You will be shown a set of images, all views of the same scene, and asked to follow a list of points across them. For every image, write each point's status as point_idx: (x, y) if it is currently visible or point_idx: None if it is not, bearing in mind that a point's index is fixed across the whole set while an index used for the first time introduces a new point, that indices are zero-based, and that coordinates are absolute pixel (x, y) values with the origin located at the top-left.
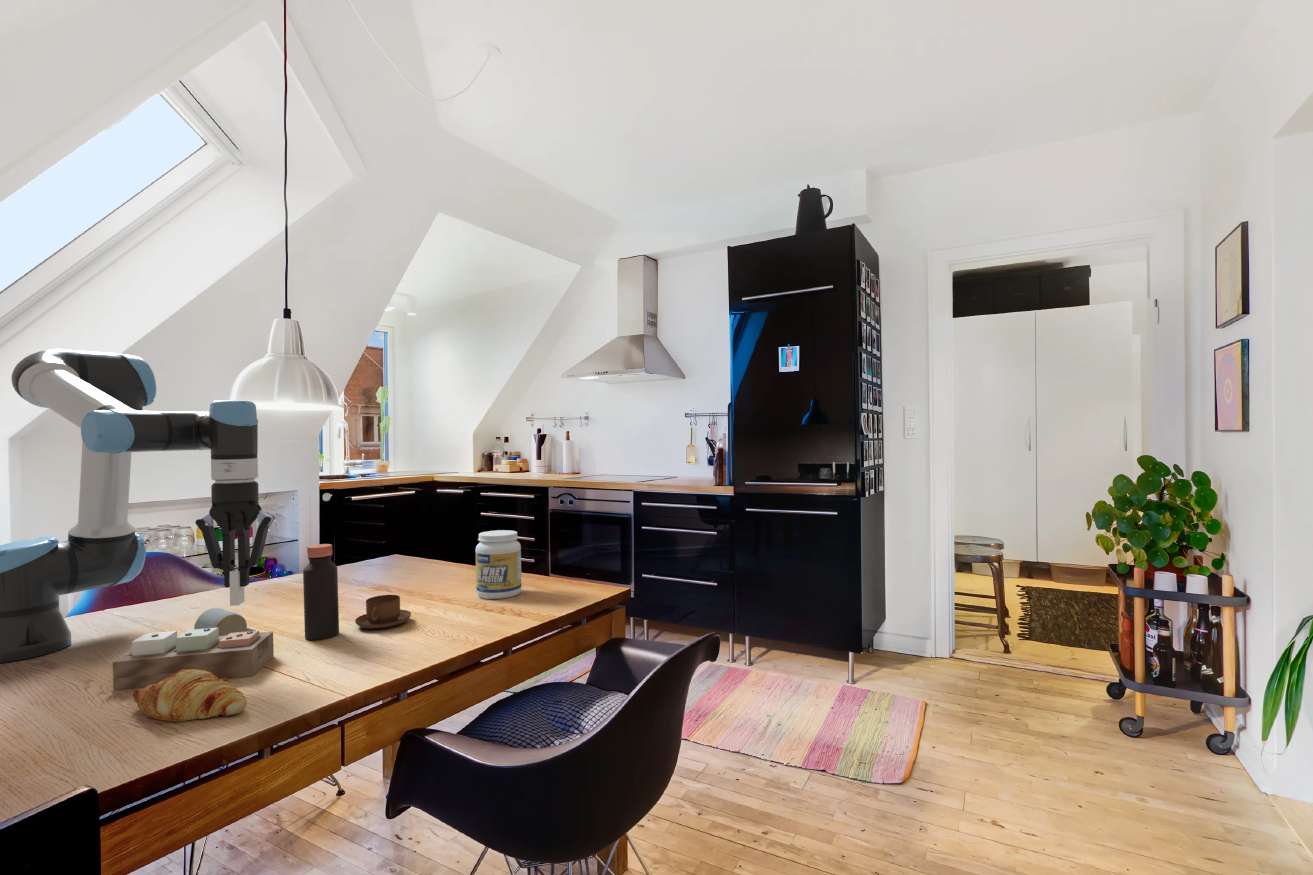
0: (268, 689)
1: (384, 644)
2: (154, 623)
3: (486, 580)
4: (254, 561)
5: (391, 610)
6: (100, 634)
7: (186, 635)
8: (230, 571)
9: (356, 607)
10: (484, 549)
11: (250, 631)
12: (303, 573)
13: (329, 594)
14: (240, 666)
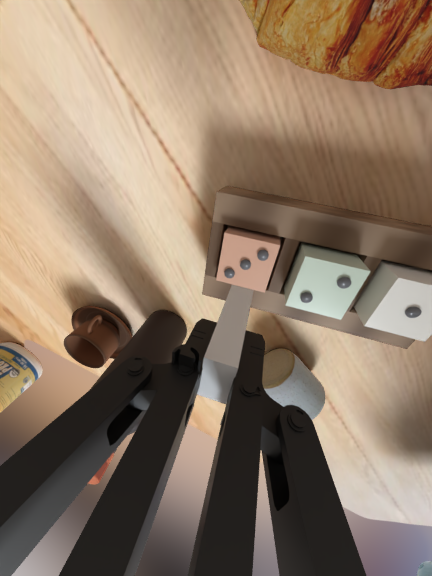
0: (187, 80)
1: (78, 245)
2: (364, 469)
3: (4, 364)
4: (121, 372)
5: (78, 327)
6: (427, 471)
7: (347, 277)
8: (234, 368)
9: None
10: None
11: (228, 276)
12: None
13: (119, 355)
14: (242, 191)
